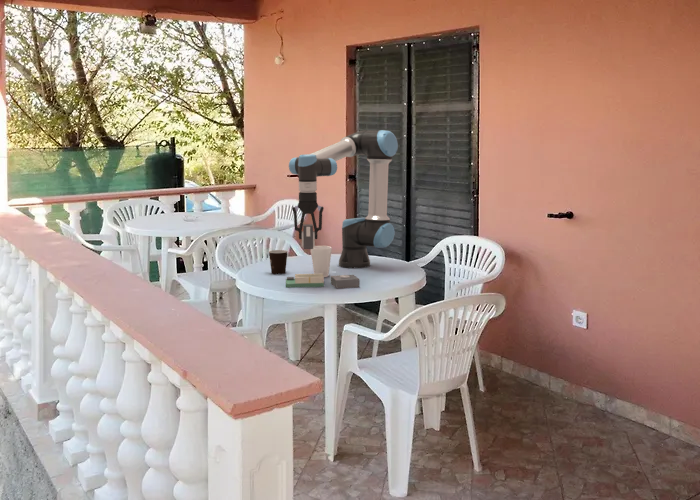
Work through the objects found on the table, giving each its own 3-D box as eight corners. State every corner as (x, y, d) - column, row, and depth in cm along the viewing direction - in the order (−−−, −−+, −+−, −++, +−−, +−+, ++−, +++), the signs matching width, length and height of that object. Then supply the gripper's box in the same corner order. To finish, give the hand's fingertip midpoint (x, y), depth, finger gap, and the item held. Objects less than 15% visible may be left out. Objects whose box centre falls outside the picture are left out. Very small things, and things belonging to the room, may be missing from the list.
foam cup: (324, 278, 335) (323, 249, 333) (307, 276, 340) (306, 248, 337) (335, 275, 343) (335, 246, 340) (318, 273, 347) (318, 245, 345)
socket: (322, 279, 326) (322, 273, 325) (323, 282, 318) (323, 277, 318) (295, 279, 325) (295, 274, 324) (295, 283, 317) (295, 277, 317)
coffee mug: (284, 275, 343) (284, 253, 341) (266, 274, 345) (266, 252, 343) (291, 270, 354) (291, 249, 353) (274, 269, 356) (273, 248, 354)
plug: (312, 247, 321) (312, 224, 320) (313, 249, 317) (313, 225, 315) (303, 247, 321) (303, 224, 320) (303, 249, 316) (303, 225, 315)
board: (322, 281, 329) (322, 276, 328) (323, 286, 318) (323, 281, 318) (285, 282, 327) (285, 276, 327) (285, 287, 317) (285, 282, 316)
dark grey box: (353, 282, 326) (353, 273, 325) (359, 287, 317) (359, 277, 316) (330, 283, 324) (330, 274, 323) (336, 288, 314) (336, 279, 313)
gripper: (287, 192, 311) (288, 248, 315) (328, 192, 312) (328, 248, 316) (287, 191, 319) (288, 245, 322) (327, 190, 320) (328, 245, 324)
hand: (308, 246), depth 319 cm, fingers closed on plug, 4 cm apart
